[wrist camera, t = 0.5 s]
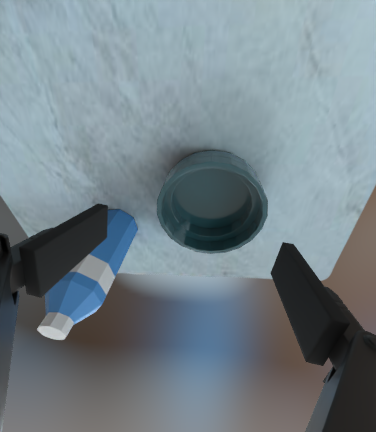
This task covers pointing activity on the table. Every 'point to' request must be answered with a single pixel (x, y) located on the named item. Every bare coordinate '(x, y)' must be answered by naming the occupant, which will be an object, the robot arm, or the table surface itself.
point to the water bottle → (88, 279)
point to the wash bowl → (212, 202)
